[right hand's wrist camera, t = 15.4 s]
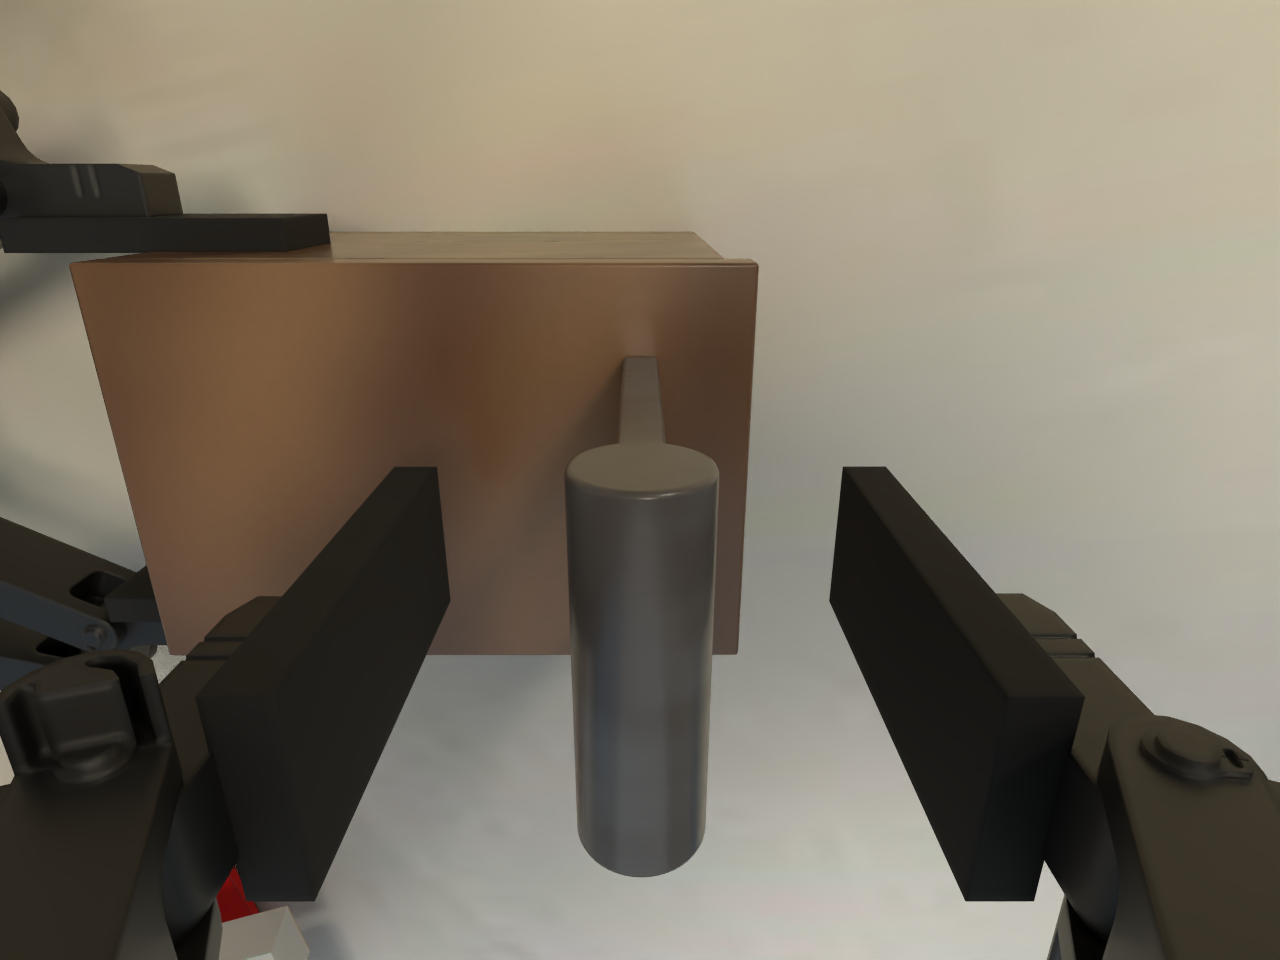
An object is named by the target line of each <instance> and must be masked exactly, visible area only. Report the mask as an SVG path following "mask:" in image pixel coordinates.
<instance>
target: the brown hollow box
mask: <svg viewBox="0 0 1280 960" xmlns="http://www.w3.org/2000/svg"><path fill="white" fill-rule="evenodd" d="M329 234H330V241H331V243H329V244H324V245H318V246H313V247H308V248H303V249H298V250H292V251H287V252H146V253H139V254H132V255H125V256H118V257H111V258H106V259H724V258H723V257H722V256H721V255H719V254H718V253H717V252H716V251H715V250H714V249H713V248H711V247H710V246H709V245H708V244H707V243H706V242H705V241H704V240H702V239H701V238H700V237H699V236H698V235H697V234H696V233H694V232H329Z"/></svg>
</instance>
